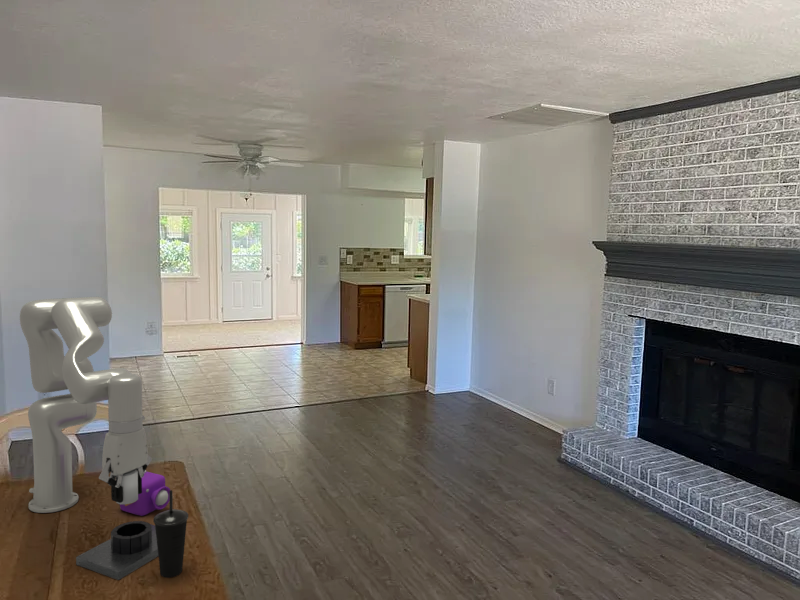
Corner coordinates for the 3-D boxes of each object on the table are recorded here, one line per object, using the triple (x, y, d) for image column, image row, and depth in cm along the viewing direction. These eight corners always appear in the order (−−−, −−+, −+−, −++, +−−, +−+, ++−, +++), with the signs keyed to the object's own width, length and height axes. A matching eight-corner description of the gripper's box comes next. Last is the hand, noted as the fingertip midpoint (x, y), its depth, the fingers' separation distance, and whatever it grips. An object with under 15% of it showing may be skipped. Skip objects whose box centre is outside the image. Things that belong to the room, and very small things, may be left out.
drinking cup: (177, 559, 147) (177, 481, 145) (194, 571, 142) (194, 490, 140) (147, 572, 141) (146, 490, 139) (164, 585, 136) (164, 500, 134)
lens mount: (76, 564, 143) (75, 540, 142) (143, 528, 161) (142, 507, 161) (118, 580, 137) (118, 555, 137) (182, 541, 156) (182, 519, 155)
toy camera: (157, 521, 166) (157, 486, 165) (114, 514, 169) (113, 480, 168) (179, 504, 177) (179, 471, 176) (138, 498, 179) (137, 466, 178)
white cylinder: (111, 501, 146) (110, 472, 146) (128, 494, 151) (127, 466, 150) (125, 506, 144) (125, 476, 144) (142, 498, 149) (142, 469, 148)
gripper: (142, 414, 155) (143, 481, 157) (83, 432, 140) (85, 507, 141) (164, 418, 152) (165, 487, 154) (106, 437, 136) (108, 514, 138)
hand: (126, 496), depth 148 cm, fingers closed on white cylinder, 4 cm apart
